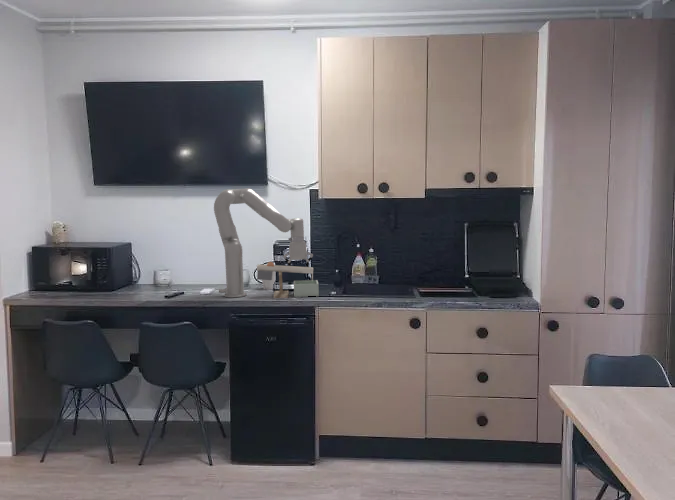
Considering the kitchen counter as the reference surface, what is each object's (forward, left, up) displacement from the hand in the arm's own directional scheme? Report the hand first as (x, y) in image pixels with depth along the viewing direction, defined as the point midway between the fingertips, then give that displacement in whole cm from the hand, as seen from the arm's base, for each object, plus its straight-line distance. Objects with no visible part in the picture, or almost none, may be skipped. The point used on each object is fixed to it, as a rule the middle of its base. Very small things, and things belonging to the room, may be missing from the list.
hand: (298, 269), depth 349 cm
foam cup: (-18, +15, -13) cm, 27 cm away
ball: (-16, -10, +4) cm, 19 cm away
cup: (+4, -10, -13) cm, 17 cm away
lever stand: (-10, -10, -13) cm, 19 cm away
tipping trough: (-8, -5, -4) cm, 11 cm away
